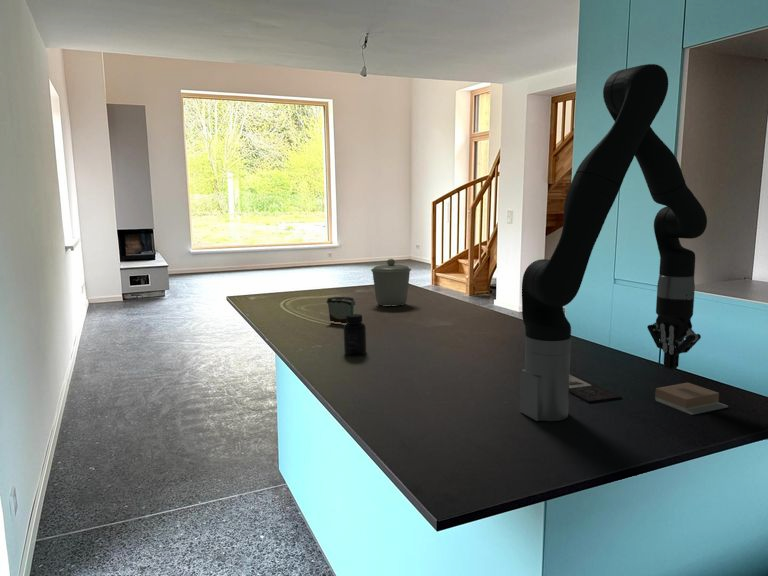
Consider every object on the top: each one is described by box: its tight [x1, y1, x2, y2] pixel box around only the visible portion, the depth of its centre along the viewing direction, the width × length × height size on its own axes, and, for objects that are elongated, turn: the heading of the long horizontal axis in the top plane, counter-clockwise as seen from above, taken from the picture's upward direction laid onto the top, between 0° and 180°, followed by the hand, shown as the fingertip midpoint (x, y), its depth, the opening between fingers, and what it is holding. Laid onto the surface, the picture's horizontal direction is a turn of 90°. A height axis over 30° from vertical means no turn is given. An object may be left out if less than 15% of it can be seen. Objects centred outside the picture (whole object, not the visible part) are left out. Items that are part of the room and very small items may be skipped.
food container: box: [326, 296, 356, 323], centre depth 213 cm, size 12×6×10 cm, turn 58°
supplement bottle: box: [343, 313, 367, 357], centre depth 169 cm, size 7×7×12 cm
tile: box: [654, 382, 720, 410], centre depth 124 cm, size 10×2×8 cm
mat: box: [655, 399, 729, 416], centre depth 123 cm, size 11×9×1 cm
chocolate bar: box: [569, 373, 623, 404], centre depth 135 cm, size 9×1×18 cm
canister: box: [370, 258, 412, 306], centre depth 249 cm, size 18×18×21 cm
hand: (670, 368), depth 128 cm, fingers closed
